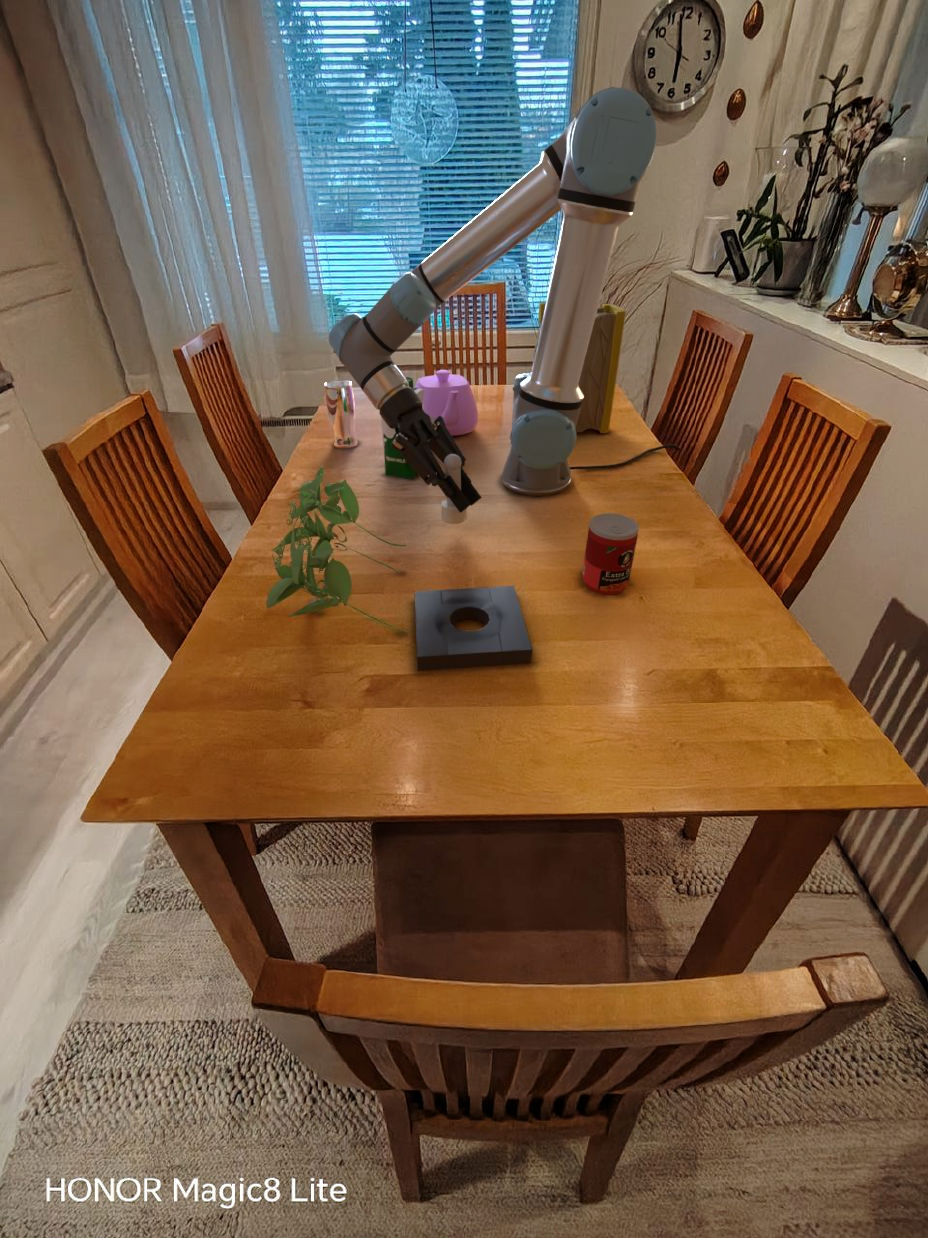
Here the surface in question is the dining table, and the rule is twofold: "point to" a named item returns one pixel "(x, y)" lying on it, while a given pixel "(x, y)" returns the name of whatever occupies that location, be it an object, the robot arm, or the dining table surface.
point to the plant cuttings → (318, 548)
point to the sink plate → (462, 648)
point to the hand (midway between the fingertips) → (470, 504)
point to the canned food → (609, 552)
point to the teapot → (449, 401)
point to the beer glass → (341, 412)
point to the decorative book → (598, 367)
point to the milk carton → (393, 458)
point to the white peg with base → (454, 470)
